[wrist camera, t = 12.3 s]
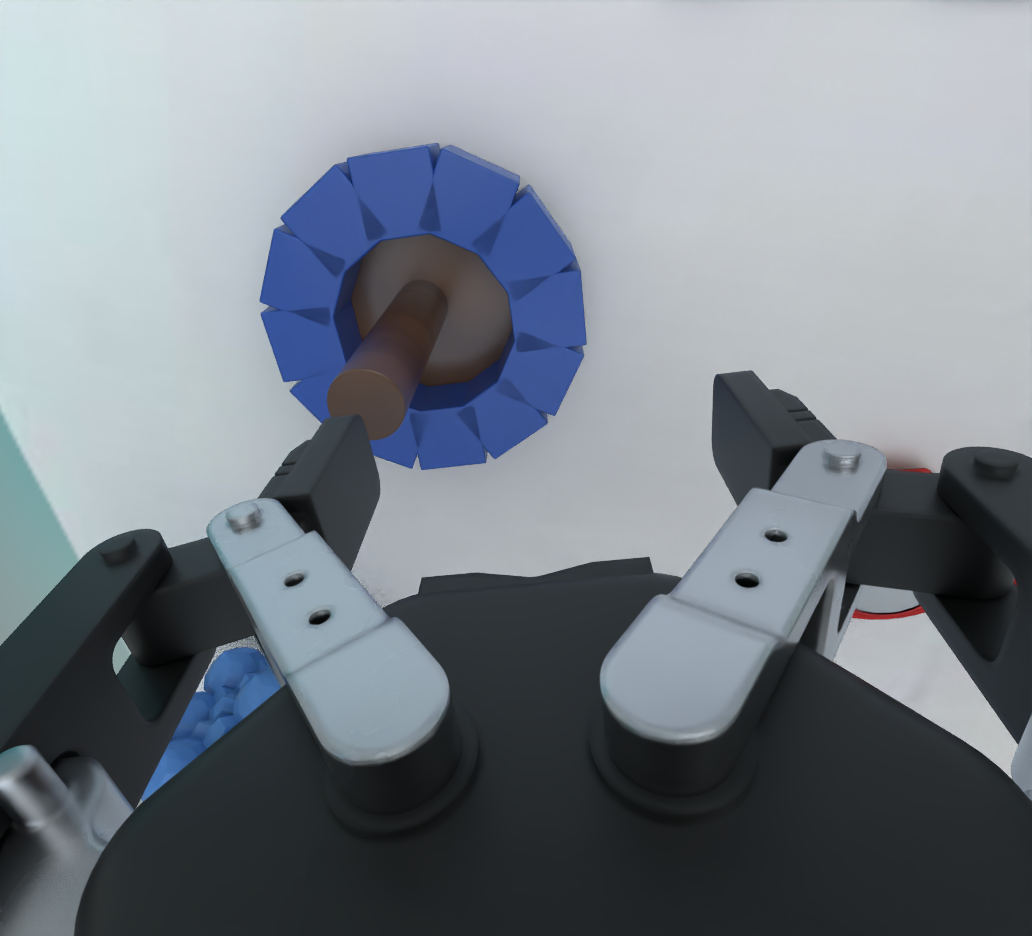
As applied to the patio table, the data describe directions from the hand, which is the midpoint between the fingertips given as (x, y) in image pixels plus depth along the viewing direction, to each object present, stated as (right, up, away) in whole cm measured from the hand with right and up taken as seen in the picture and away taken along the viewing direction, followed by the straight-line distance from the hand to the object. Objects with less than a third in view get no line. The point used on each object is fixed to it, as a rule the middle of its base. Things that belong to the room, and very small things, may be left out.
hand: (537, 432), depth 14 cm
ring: (-4, +6, +12) cm, 14 cm away
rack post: (-4, +7, +13) cm, 15 cm away
